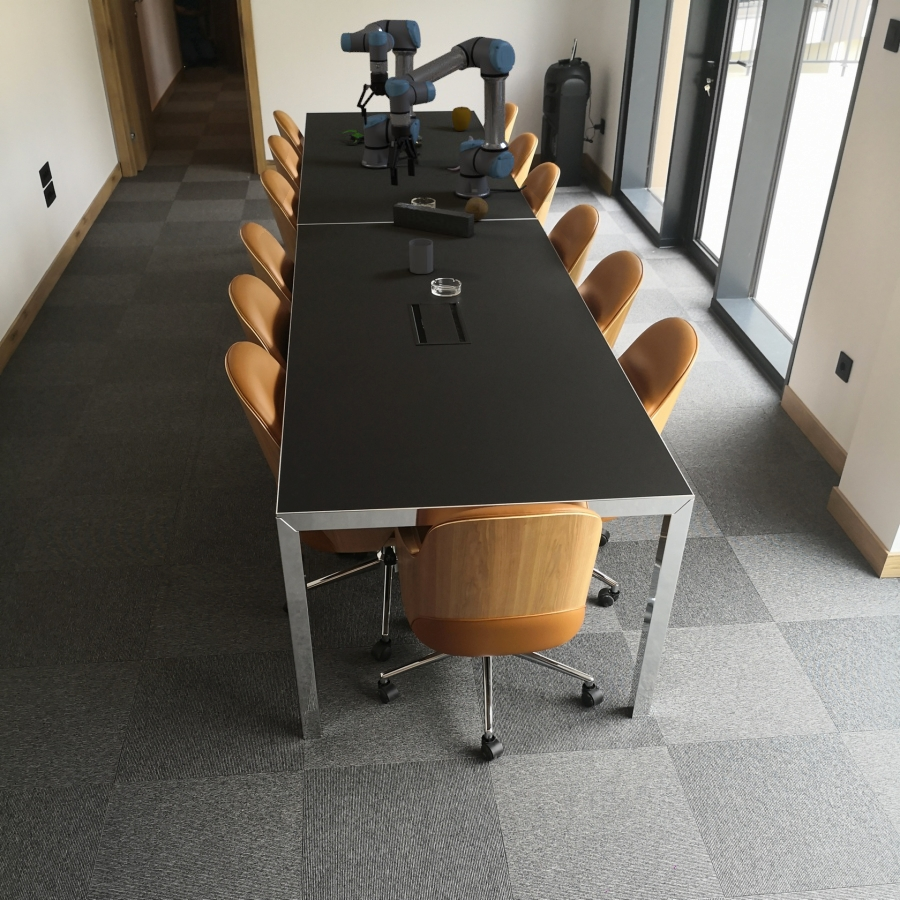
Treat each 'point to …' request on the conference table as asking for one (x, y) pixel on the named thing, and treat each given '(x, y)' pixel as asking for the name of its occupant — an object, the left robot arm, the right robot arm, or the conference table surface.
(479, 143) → the right robot arm
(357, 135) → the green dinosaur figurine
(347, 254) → the conference table surface
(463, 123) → the yellow bell pepper
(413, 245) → the cup
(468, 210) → the potato
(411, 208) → the bar
